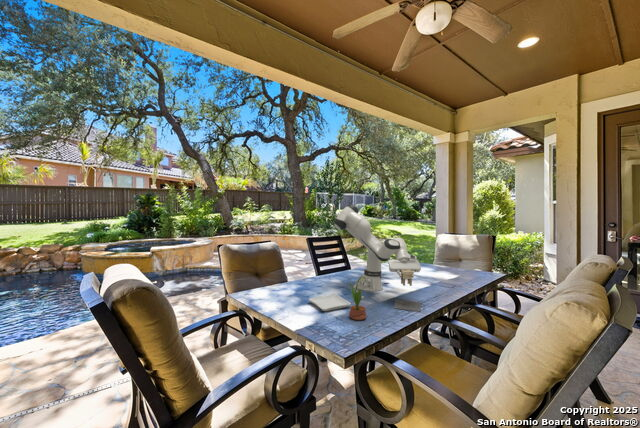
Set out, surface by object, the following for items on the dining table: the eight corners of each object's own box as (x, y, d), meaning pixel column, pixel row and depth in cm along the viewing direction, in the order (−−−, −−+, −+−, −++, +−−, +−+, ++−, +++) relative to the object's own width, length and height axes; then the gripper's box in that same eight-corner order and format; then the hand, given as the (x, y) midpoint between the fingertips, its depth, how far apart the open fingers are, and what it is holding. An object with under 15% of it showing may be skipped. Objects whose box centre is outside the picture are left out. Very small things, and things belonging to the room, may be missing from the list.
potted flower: (371, 316, 166) (371, 273, 165) (368, 322, 156) (369, 277, 155) (351, 313, 170) (351, 272, 169) (347, 319, 160) (347, 275, 159)
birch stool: (399, 283, 185) (400, 269, 185) (409, 283, 185) (410, 269, 185) (402, 285, 179) (403, 271, 178) (412, 285, 179) (413, 271, 178)
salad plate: (322, 314, 169) (322, 308, 169) (307, 303, 188) (307, 298, 187) (352, 308, 179) (352, 303, 179) (335, 298, 197) (335, 293, 197)
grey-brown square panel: (393, 308, 178) (394, 307, 178) (395, 300, 193) (395, 299, 193) (420, 312, 173) (420, 311, 173) (420, 303, 188) (420, 302, 188)
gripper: (388, 256, 188) (391, 274, 179) (418, 256, 188) (423, 274, 179) (386, 261, 193) (389, 279, 184) (416, 261, 193) (421, 279, 183)
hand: (406, 277), depth 181 cm, fingers closed on birch stool, 6 cm apart
